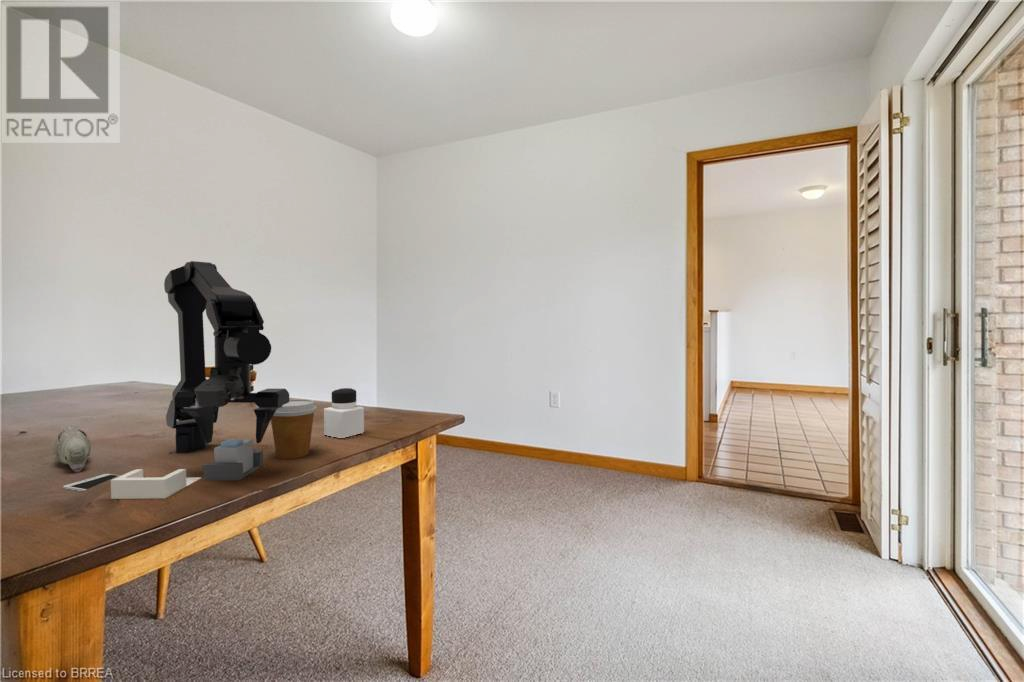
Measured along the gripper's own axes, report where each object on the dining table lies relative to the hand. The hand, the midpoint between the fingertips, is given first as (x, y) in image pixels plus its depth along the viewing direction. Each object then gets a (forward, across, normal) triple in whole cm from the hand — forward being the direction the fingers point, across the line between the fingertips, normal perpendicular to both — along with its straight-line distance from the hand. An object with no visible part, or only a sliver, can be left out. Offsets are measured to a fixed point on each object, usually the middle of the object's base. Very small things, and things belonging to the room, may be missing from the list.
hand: (233, 442), depth 90 cm
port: (+6, -8, -8) cm, 13 cm away
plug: (+6, 0, 0) cm, 6 cm away
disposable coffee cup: (+7, +6, +12) cm, 15 cm away
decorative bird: (+7, -36, +8) cm, 38 cm away
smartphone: (+7, -18, -5) cm, 20 cm away
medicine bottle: (+7, +11, +32) cm, 34 cm away
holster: (+6, 0, 0) cm, 6 cm away
